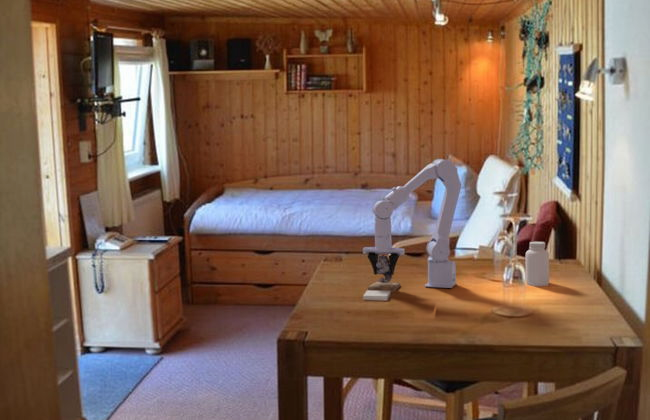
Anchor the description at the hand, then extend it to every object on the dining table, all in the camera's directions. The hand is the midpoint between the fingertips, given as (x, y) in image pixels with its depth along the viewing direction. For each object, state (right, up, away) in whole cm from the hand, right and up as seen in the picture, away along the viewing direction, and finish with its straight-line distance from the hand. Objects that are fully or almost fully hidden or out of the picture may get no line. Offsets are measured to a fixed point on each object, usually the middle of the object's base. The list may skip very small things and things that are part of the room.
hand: (384, 274), depth 276 cm
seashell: (0, -3, 0) cm, 3 cm away
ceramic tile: (-3, -7, -10) cm, 12 cm away
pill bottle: (+54, -4, +2) cm, 54 cm away
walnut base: (0, -6, +1) cm, 6 cm away
